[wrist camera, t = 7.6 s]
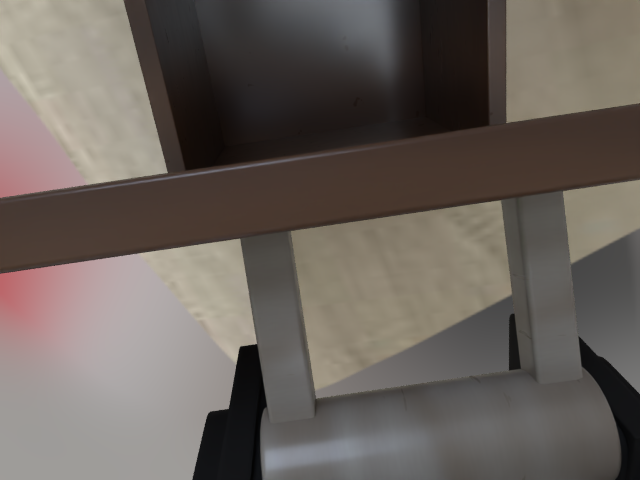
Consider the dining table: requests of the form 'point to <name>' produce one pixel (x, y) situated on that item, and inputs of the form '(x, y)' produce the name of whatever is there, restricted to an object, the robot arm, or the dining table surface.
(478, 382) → the lid
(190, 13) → the chest
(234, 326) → the dining table surface
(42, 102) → the dining table surface
